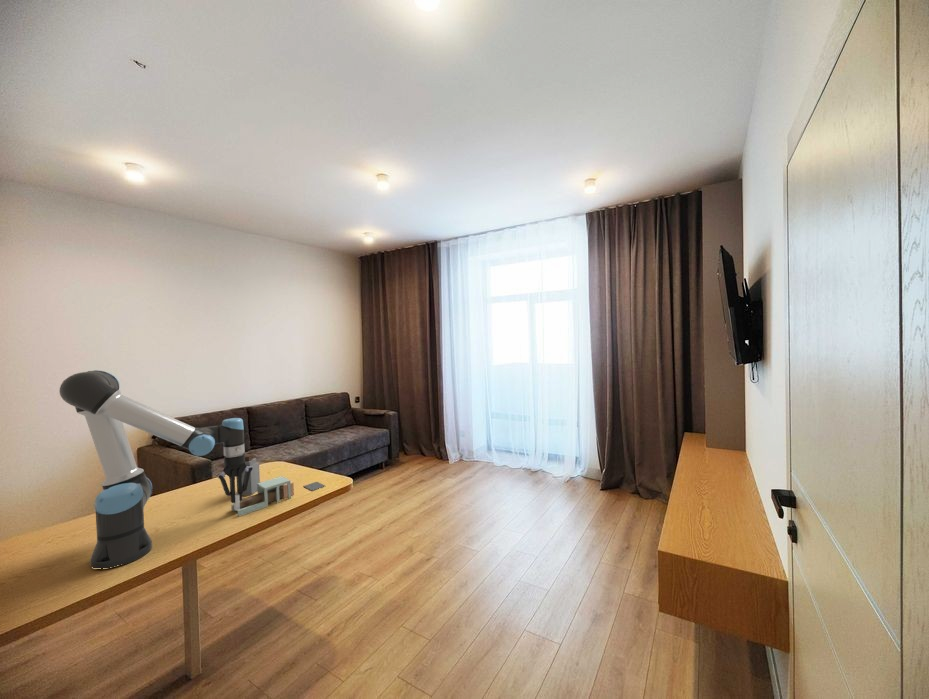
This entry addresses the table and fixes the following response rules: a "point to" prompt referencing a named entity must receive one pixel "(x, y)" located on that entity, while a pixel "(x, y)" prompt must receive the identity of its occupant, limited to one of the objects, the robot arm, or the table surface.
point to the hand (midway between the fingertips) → (237, 509)
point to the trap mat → (314, 486)
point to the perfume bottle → (251, 475)
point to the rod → (260, 498)
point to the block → (285, 490)
